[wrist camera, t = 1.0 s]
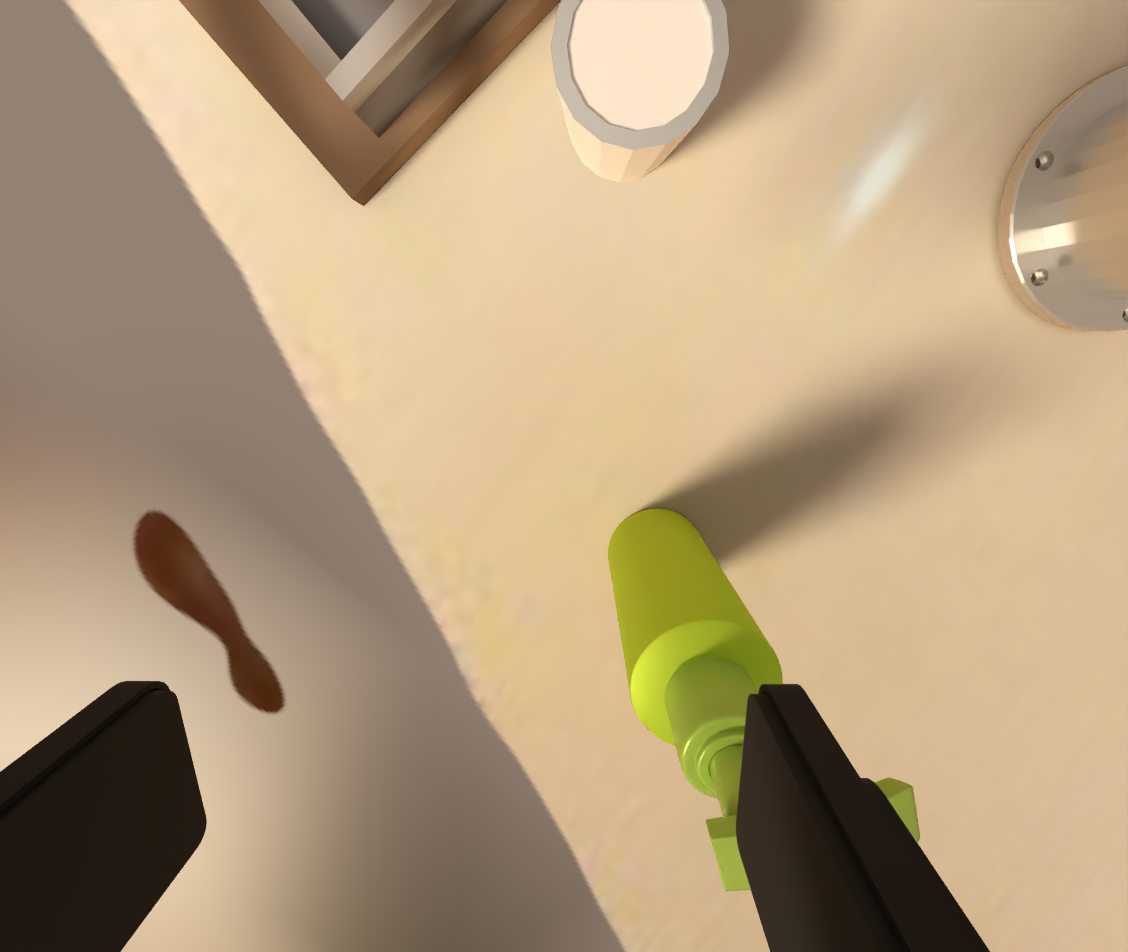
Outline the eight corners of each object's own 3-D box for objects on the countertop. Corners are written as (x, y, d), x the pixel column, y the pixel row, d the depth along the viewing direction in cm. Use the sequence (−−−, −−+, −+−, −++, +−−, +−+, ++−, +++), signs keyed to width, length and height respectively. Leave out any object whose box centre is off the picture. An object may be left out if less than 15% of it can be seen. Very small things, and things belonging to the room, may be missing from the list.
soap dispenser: (726, 577, 33) (942, 915, 14) (621, 604, 34) (686, 963, 14) (707, 492, 32) (916, 736, 12) (597, 522, 32) (633, 798, 13)
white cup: (629, 7, 25) (650, -112, 19) (718, 124, 27) (767, 52, 20) (528, 117, 27) (513, 43, 20) (617, 224, 28) (631, 188, 21)
